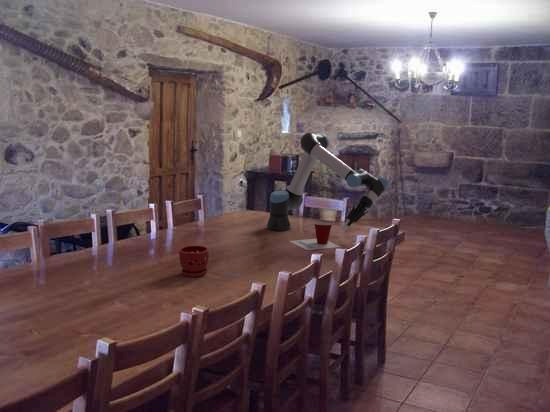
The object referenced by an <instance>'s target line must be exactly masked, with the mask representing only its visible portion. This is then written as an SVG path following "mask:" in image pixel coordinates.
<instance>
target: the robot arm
mask: <svg viewBox="0 0 550 412" xmlns="http://www.w3.org/2000/svg"><path fill="white" fill-rule="evenodd" d="M299 143H300V147H301V149H302V150H303V155H302V157H301V159H300V162H299V164H298V166H297V169H296V171H295V173H294V176H293V177H292V180H291V183H290V184H289V185H287V186H286V188H285V189H284V190H275V191H273V192H271V193H270V196H269V218H268V219H267V222H266V223H267V224H266V229H267V230H269V231H273V232H274V231H276V232H285V231H290V230H291V222H290V218H289V211H292V210H296V209H298V208H300V207H301V206H302V204H303V203H304V198H303V195H304V190H303V189H304V187H305V185H306V183H307V181H308V179H309V177H310V175H311V172H312V170H313V167H314V165H315V163H316V161H317V160H318V161H320V163H322V164H323V165H324V166H326V167H327V168H328V169H330V170H331V171H332V172H334V173H335V174H337V175H338V176H339V177H340V178H341V179H343V180H344V181H346V184H347V186H348V187H351V188H359V187H362V186H364V187H366V188H367V190H366V192H365V193H364V194H363V195H362V196H361V197H360V199H359V202H358V204H356V205H352V208H351V209H350V212H349V213H348V215H347V216H346V219H347V220H346V221H345V222H344V223H343V225H342V226H341V229H342V231H344V232H346V231H347V229H348V228H349V227H350V226H351V225H352V224H354V223H357V222H358V221H359V220H360V219H362V217H364V215H366V214H368V213H369V210H368V209H370V208H371V207H372V206H373V204H374V203H375V202H376V201H377V200H378V198H379V197H380V196H381V195H382V194H383V193H384V191H386V189H387V187H388V186H389V181H388V180H387V179H386V178H385V177H383V176H378V177H375V176H374V175H372V174H371V173H370V172H368V171H366V170H364V169H363V168H359V169H358V170H356V171H355V170H353V169H352V168H351V167H350V166H349V165H347V164H346V163H345V162H343V161H342V160H341V159H339V158H338V157H337V156H336V155H334V154H333V153H332V152H330V151H329V150H327V148H328V147H329V139H328V136H327V135H326V134H325V133H324V132H320V131H317V132H306V133H304V134H303V135H302V136H301V137H300V142H299Z"/></svg>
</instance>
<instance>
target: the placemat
mask: <svg viewBox="0 0 550 412" xmlns="http://www.w3.org/2000/svg"><path fill="white" fill-rule="evenodd" d="M288 242H289V243H290V244H293V245H295V246H297V247H299V248H301V249H304V250H306V251H312V250H313V251H314V250H324V249H325V250H326V249H335V248H342V246H341V245H338V244H336V243H333V242H331V241H329V240H328V242H327V244H318V243H317V238H311V239H310V238H308V239H299V240H298V239H297V240H288Z"/></svg>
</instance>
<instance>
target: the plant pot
mask: <svg viewBox="0 0 550 412" xmlns="http://www.w3.org/2000/svg"><path fill="white" fill-rule="evenodd" d="M178 253H179V255H178V256H179V263H180V266H181V268H182V269H181V273H182V274H183V276H186V277H189V278H190V277H192V278H193V277H195V278H196V277H202V276H205V274H207V273H208V268H207V267H208V264H209V258H210V256H209V255H210V252H209V247H207V246H204V245H185V246H182V247H181V248H179V251H178Z"/></svg>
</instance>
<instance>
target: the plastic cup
mask: <svg viewBox="0 0 550 412" xmlns="http://www.w3.org/2000/svg"><path fill="white" fill-rule="evenodd" d="M313 224H314V228H315V236H316V237H315V239H317V243H318V244H327V242H328V241H329V237H330V234H331V228H332V227H333V226H332V225H333V223H332V222H327V221H325V222H324V221H316V222H315V221H314V222H313Z"/></svg>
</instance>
